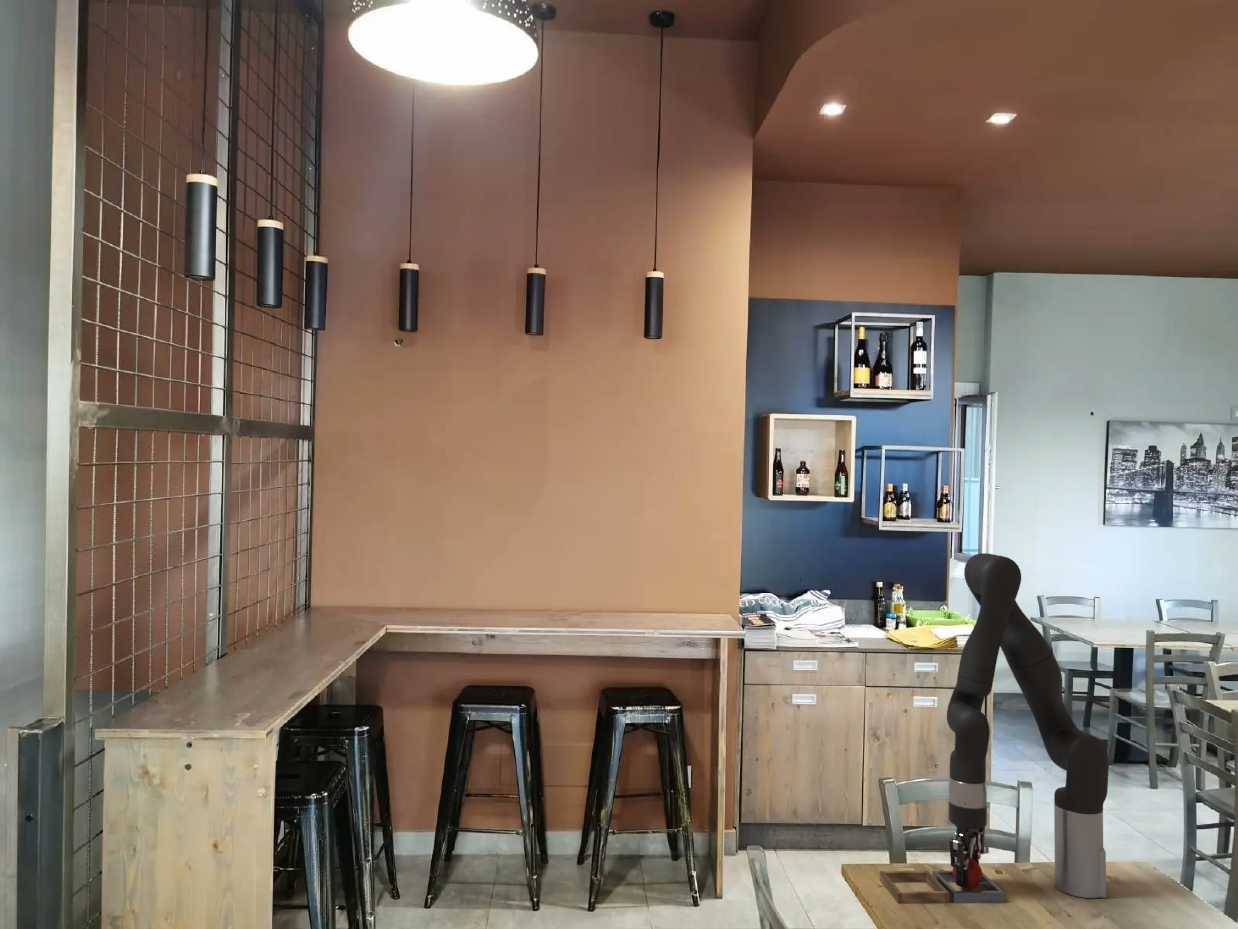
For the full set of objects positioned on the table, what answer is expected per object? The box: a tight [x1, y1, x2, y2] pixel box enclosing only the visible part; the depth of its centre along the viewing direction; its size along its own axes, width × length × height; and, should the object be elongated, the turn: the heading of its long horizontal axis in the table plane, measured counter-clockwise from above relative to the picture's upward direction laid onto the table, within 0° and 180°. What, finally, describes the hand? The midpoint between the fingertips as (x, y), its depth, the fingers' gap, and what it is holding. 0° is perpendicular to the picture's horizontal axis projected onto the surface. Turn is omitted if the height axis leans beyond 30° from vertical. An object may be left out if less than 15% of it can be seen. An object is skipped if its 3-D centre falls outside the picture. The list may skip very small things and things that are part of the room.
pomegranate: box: [952, 851, 983, 891], centre depth 183 cm, size 6×6×8 cm
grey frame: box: [932, 870, 1006, 904], centre depth 183 cm, size 11×11×2 cm
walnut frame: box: [879, 870, 950, 904], centre depth 182 cm, size 11×11×2 cm
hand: (967, 881), depth 183 cm, fingers closed on pomegranate, 6 cm apart
